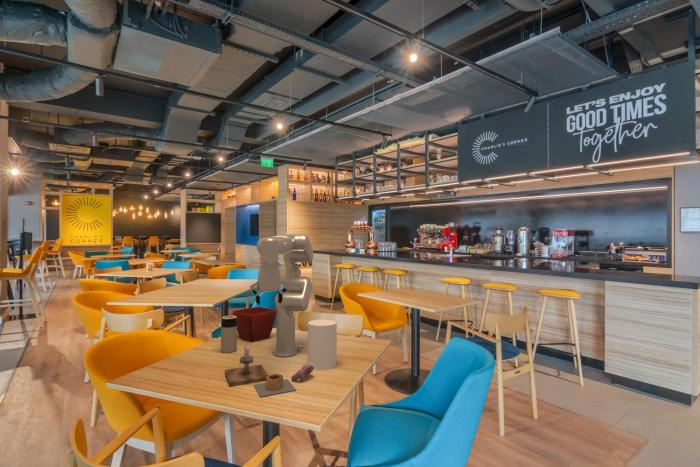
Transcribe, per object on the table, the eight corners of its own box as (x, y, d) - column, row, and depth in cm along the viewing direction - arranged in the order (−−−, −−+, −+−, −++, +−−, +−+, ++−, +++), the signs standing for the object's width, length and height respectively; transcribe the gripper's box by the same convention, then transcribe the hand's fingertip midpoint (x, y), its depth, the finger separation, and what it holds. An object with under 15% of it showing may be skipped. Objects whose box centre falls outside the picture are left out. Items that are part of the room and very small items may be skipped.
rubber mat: (287, 379, 149) (287, 379, 149) (296, 390, 139) (296, 389, 139) (253, 385, 143) (253, 384, 143) (260, 397, 132) (260, 396, 132)
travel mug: (233, 353, 185) (234, 318, 185) (218, 353, 185) (219, 318, 185) (238, 348, 193) (239, 315, 193) (224, 348, 193) (224, 315, 193)
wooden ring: (280, 382, 145) (280, 373, 145) (284, 388, 140) (284, 378, 140) (264, 385, 142) (264, 375, 143) (268, 391, 137) (268, 381, 137)
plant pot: (231, 338, 212) (231, 310, 212) (258, 332, 227) (258, 306, 227) (249, 344, 200) (250, 314, 200) (277, 338, 214) (277, 310, 215)
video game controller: (297, 386, 146) (303, 372, 145) (289, 379, 148) (295, 366, 147) (311, 378, 155) (317, 365, 154) (303, 372, 157) (309, 359, 156)
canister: (341, 366, 165) (341, 323, 166) (314, 371, 159) (315, 327, 159) (328, 358, 177) (329, 318, 178) (303, 362, 171) (303, 321, 171)
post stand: (261, 367, 163) (261, 339, 164) (269, 380, 149) (269, 349, 149) (224, 373, 156) (225, 343, 157) (229, 386, 142) (229, 354, 142)
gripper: (286, 264, 167) (285, 301, 167) (248, 265, 160) (248, 303, 159) (290, 265, 160) (290, 303, 160) (251, 266, 153) (251, 306, 152)
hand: (269, 303), depth 160 cm, fingers open, 9 cm apart
